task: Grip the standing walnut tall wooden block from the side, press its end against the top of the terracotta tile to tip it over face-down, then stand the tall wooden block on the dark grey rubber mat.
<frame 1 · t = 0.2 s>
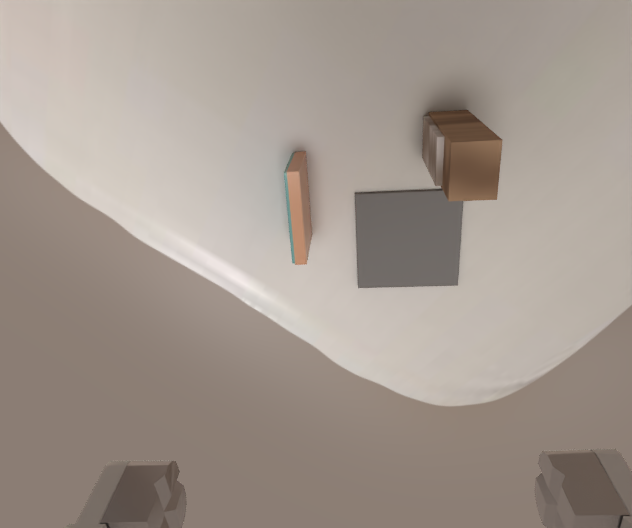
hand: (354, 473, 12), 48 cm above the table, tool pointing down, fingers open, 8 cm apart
tile: (302, 194, 59), on the table
rest mat: (407, 239, 60), on the table
tall wooden block: (446, 135, 55), on the table
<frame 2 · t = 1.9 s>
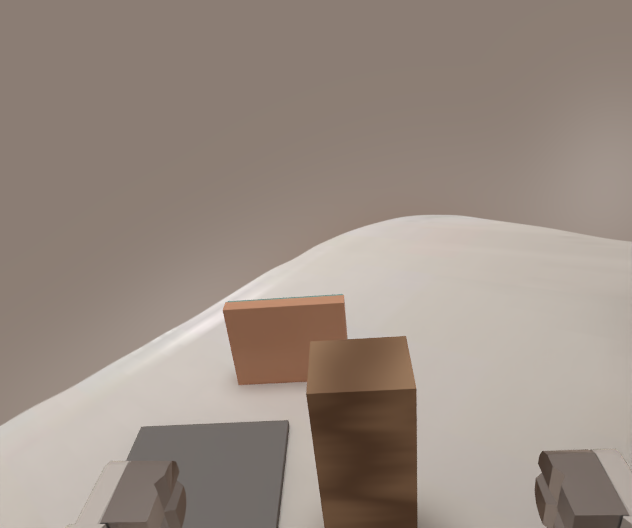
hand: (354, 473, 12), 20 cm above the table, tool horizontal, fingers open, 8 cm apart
tile: (294, 376, 46), on the table
rest mat: (197, 493, 36), on the table
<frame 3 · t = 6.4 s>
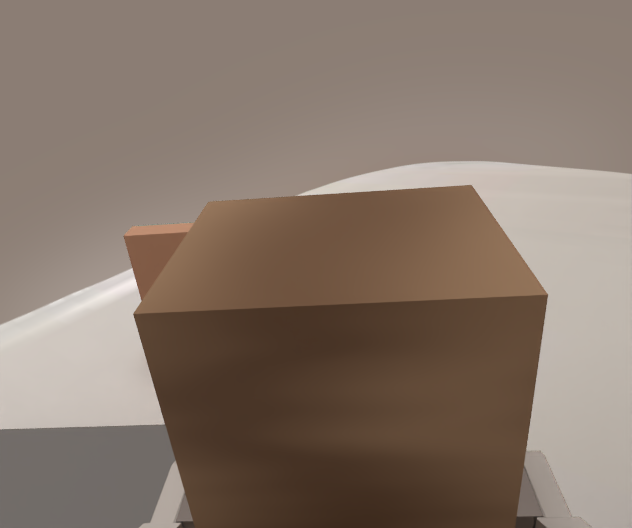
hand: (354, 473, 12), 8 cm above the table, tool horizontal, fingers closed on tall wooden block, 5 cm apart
tile: (249, 354, 29), on the table
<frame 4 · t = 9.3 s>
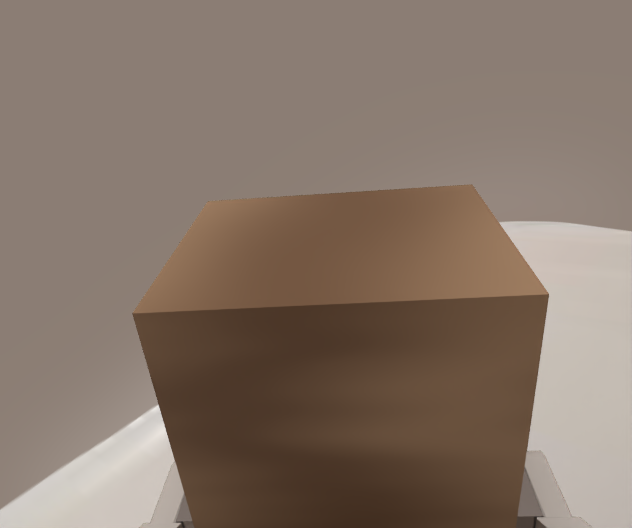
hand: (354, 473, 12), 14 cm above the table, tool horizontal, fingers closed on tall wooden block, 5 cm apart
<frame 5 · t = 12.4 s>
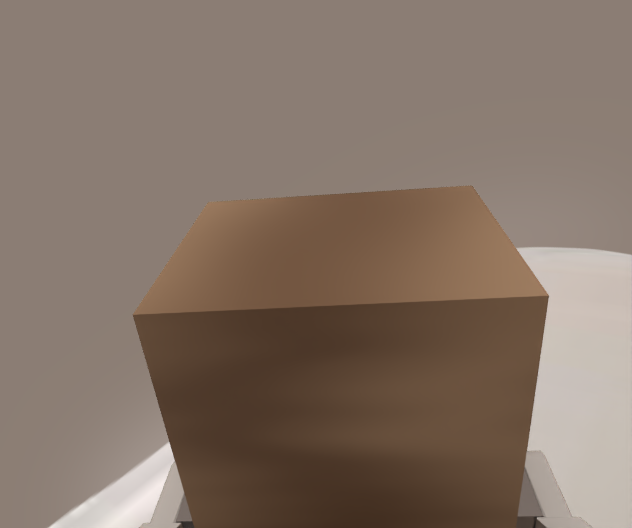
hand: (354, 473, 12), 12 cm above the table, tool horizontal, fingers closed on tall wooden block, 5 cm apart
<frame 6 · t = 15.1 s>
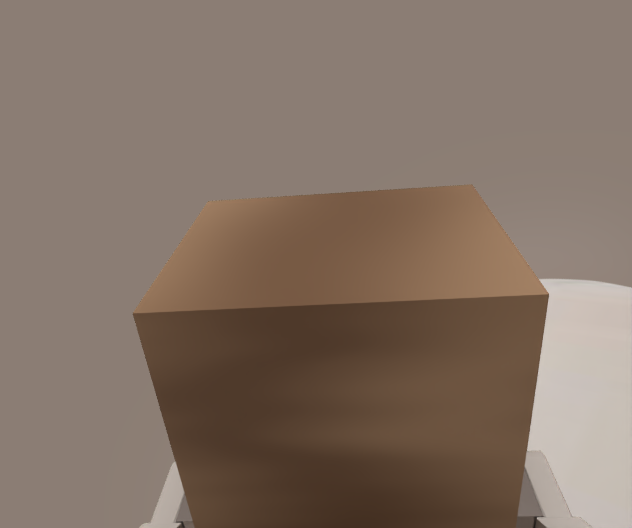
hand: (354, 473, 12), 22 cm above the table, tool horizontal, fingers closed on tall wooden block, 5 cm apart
when the fingers open (10 cm above the table, at t = 17.7 s): tall wooden block drops 1 cm, resting on rest mat.
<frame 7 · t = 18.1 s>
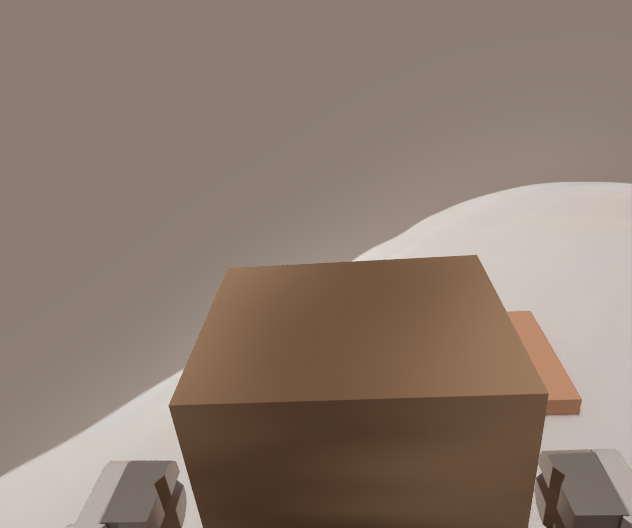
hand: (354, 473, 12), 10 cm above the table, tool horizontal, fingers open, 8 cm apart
tile: (476, 413, 26), on the table, tilted 90°
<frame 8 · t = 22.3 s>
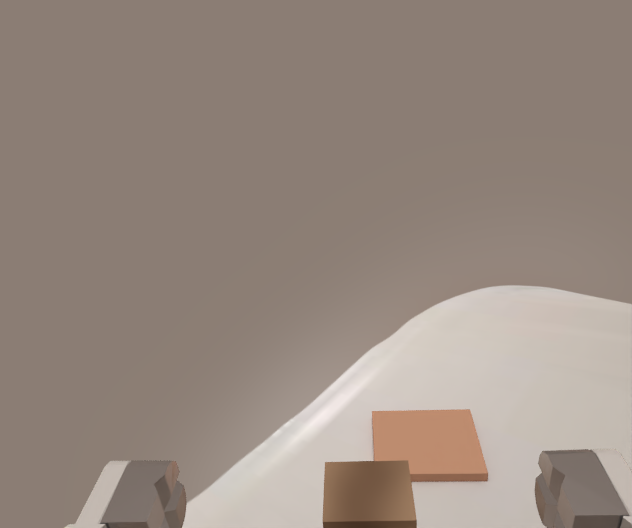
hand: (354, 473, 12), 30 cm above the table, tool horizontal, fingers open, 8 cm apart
tile: (430, 479, 46), on the table, tilted 90°
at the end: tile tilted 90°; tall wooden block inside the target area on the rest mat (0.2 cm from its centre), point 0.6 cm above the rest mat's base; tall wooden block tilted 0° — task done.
